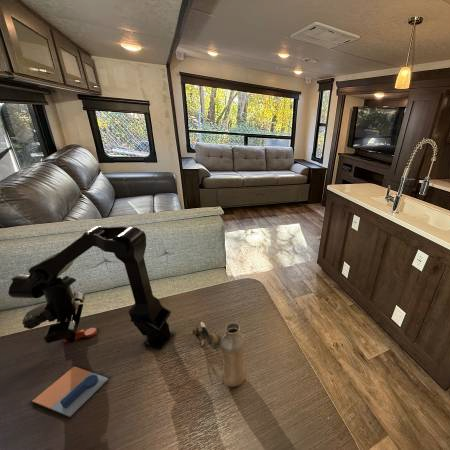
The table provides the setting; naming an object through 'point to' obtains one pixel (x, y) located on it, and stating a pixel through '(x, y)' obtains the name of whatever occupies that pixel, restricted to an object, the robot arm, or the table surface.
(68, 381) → the mat
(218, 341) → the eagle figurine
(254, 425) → the table surface
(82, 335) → the terracotta spoon
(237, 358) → the plastic bottle
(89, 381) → the blue spoon
